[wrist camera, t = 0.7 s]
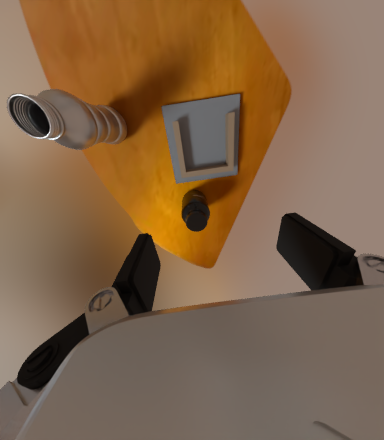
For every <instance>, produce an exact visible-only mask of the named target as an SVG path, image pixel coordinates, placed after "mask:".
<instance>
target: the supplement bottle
mask: <svg viewBox="0 0 384 440" xmlns="http://www.w3.org/2000/svg"><path fill="white" fill-rule="evenodd" d="M209 216H210V211H209V207H208V204H207V201H206V198H205V196H204V194H203V193H202V192H200V191H197V190H192V191H189V192H187V193H186V194H185V195H184V197H183V200H182V219H183V221H184V222H185V223H186V226H187V228H189V229H190V230H192V231H196V232H197V231H201V230H203V229H204V228H205V227H206V225H207V221H208V219H209Z"/></svg>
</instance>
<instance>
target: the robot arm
mask: <svg viewBox="0 0 384 440" xmlns="http://www.w3.org/2000/svg"><path fill="white" fill-rule="evenodd" d="M277 250H278V252H279V253H280V254H281V255H282V256H283V258H284V259H285V260H286V261H287V262H288V263H289V265H290V266H291V267H292V268H293V269H294V271H295V272H296V273H297V274H298V275H299V276H300V277H301V279H302V280H303V281H304V282H305V283H306V285H307V286H308V287H309V288H310V289H311V290H312V291H304V292H296V293H288V294H279V295H272V296H263V297H256V298H247V299H239V300H231V301H224V302H215V303H208V304H200V305H192V306H186V307H177V308H170V309H165V310H157V311H152V307H153V301H154V296H155V291H156V286H157V281H158V276H159V271H160V260H159V257H158V254H157V251H156V248H155V245H154V242H153V239H152V236H151V235H149V234H148V233H145V234H139V236H138V237H137V239H136V241H135V243H134V245H133V247H132V249H131V252H130V253H129V255H128V256H127V257H126V259H125V261H124V263H123V265H122V267H121V269H120V271H119V273H118V275H117V277H116V279H115V281H114V283H113V285H112V287H107V288H103V289H101V290H100V291H98V292H96V293H95V294H94V295H93V296H92V297H91V298H90V299H89V300H88V302H87V303H86V306H85V313H84V314H82V315H81V316H80V317H78V318H77V319H75V320H74V321H73V322H71V323H70V324H69V325H67V326H66V327H64V328H63V329H62V330H60V331H59V332H58V333H56V334H55V335H54V336H52V337H51V338H50V339H48V340H47V341H46V342H44V343H43V344H42V345H40V346H39V347H38V348H37V349H35V350H34V351H33V352H32V353H31V355H30V356H29V357H28V358H27V359H26V360H25V362H24V363H23V364H22V367H21V368H20V370H19V372H18V377H17V378H16V379H15V381H13V382H10V381H9V382H7V383H6V385H4V386H3V387H2V388H1V389H0V440H384V257H382V256H378V255H373V254H361V255H359V256H358V257H355V256H354V253H355V252H356V251H355V250H354V249H353V248H351V247H349V246H348V245H346V244H345V243H343V242H341V241H340V240H338V239H337V238H335V237H333V236H332V235H330V234H329V233H327V232H326V231H324V230H322V229H321V228H319V227H317V226H316V225H314V224H313V223H311V222H310V221H308V220H306V219H305V218H303V217H302V216H300V215H298V214H297V213H289V214H285V215H284V216H283V217H282V220H281V225H280V231H279V236H278V241H277Z"/></svg>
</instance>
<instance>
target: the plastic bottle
mask: <svg viewBox="0 0 384 440" xmlns="http://www.w3.org/2000/svg"><path fill="white" fill-rule="evenodd" d="M7 109H8V112H9V115H10V117H11V119H12V120H13V121H14V123H15V124H16V125H17V126H18V127H19V128H20V129H21V130H22V131H23V132H25V133H26V134H28V135H29V136H32V137H34V138H38V139H49V140H54V141H56V142H57V143H59V144H61V145H63V146H65V147H68V148H72V149H76V150H82V149H86V148H89V147H91V146H93V145H95V144H97V143H101V142H105V143H109V144H119V143H121V142H122V141H123V140H124V139H125V138H126V135H127V125H126V123H125V120H124V119H123V117H122V116H121V115H120V114H119V113H118V112H117V111H116V110H115V109H113V108H112V107H110V106H106V105H97V106H96V105H91V104H88V103H86V102H84V101H82V100H81V99H79V98H77V97H76V96H74V95H72V94H70V93H68V92H65V91H63V90H59V89H50V90H45V91H42V92H41V93H40V94H39V95H38V96H32V95H25V94H12V95H11V96H10V97H9V98H8V100H7Z"/></svg>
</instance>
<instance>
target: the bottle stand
mask: <svg viewBox="0 0 384 440" xmlns="http://www.w3.org/2000/svg"><path fill="white" fill-rule="evenodd" d="M161 107H162V112H163V117H164V123H165V128H166V133H167V138H168V143H169V149H170V154H171V159H172V164H173V170H174V175H175V180H176V183H183V182H190V181H197V180H204V179H210V178H217V177H224V176H231V175H237V170H238V142H239V113H240V94H235V95H229V96H223V97H217V98H210V99H204V100H198V101H191V102H185V103H179V104H173V105H166V106H161Z"/></svg>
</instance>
